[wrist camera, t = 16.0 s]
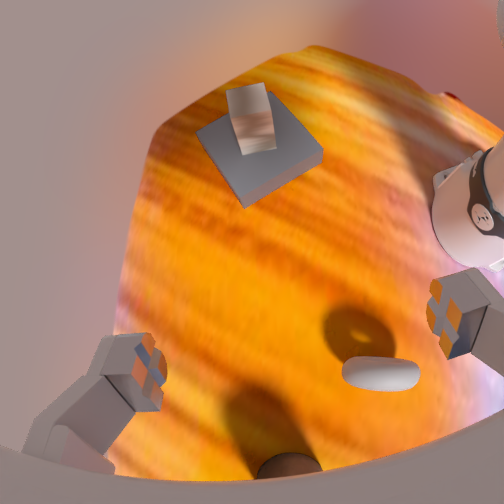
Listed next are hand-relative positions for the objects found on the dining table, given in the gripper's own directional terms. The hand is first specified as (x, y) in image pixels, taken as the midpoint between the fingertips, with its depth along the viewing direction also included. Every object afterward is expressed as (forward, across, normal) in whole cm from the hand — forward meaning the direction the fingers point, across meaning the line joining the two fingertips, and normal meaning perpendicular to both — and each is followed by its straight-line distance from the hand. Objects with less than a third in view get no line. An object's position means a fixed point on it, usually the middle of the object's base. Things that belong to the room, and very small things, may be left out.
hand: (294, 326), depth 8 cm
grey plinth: (+44, 0, +5) cm, 44 cm away
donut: (+19, -9, +30) cm, 37 cm away
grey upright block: (+41, 0, +2) cm, 41 cm away
